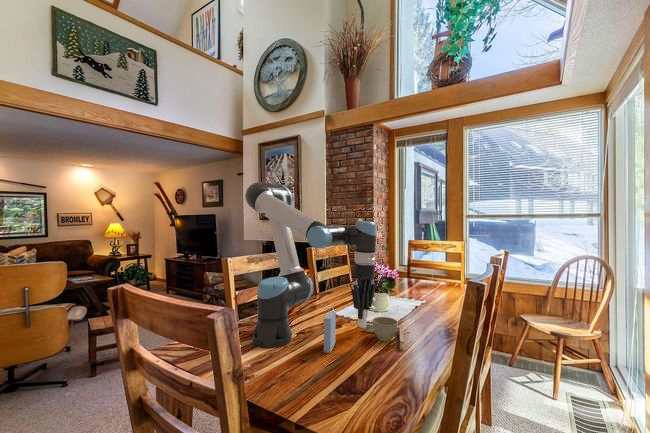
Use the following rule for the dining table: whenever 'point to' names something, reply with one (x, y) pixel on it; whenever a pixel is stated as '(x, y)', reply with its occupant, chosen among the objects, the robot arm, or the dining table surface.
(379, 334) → the flower pot
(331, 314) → the pale blue rectangular prism
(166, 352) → the dining table surface
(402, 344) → the l-shaped bracket
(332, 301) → the dining table surface
